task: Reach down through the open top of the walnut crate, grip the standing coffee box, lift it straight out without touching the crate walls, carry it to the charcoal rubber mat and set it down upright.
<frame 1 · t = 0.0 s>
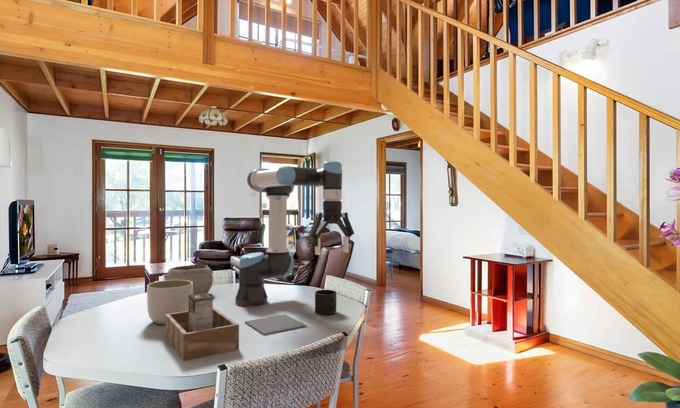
hand: (332, 253, 159), 28 cm above the table, fingers open, 13 cm apart
planter: (170, 321, 160), on the table
bowl: (189, 296, 203), on the table
coffee box: (200, 343, 136), resting in crate
mug: (327, 313, 173), on the table
crate: (200, 342, 136), on the table
mat: (275, 324, 157), on the table
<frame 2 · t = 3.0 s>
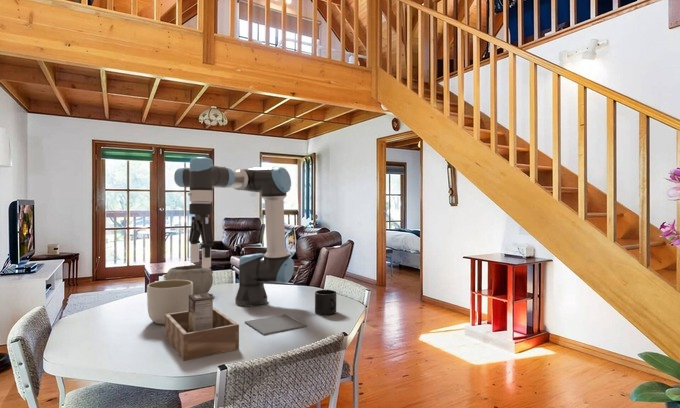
hand: (200, 264, 136), 27 cm above the table, fingers open, 13 cm apart
nothing on the table moved.
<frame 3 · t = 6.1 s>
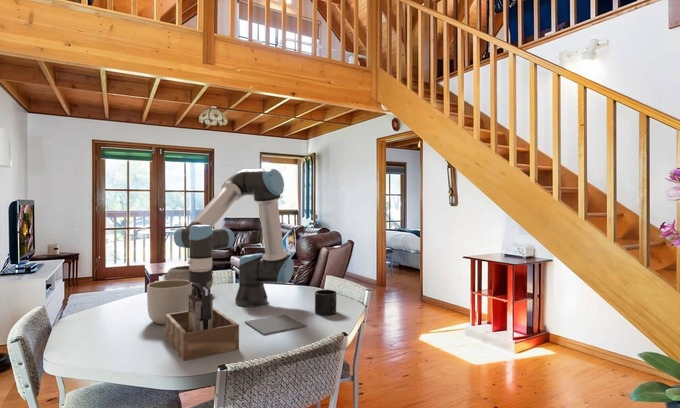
hand: (200, 335, 136), 3 cm above the table, fingers closed on coffee box, 9 cm apart
coffee box: (200, 343, 136), resting in crate, touching gripper
everything else where it was.
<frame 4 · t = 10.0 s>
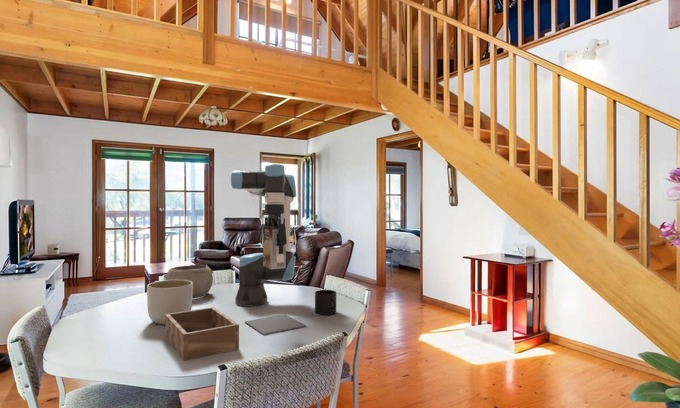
hand: (274, 260, 156), 25 cm above the table, fingers closed on coffee box, 9 cm apart
coffee box: (274, 267, 156), point 23 cm above the table, touching gripper
everything else where it was.
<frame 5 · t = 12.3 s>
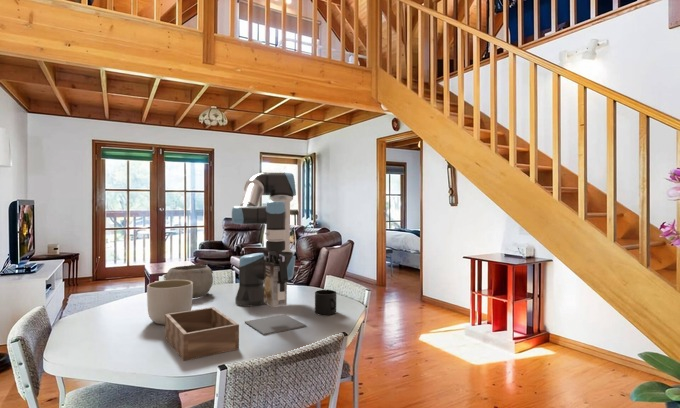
hand: (275, 297, 156), 11 cm above the table, fingers closed on coffee box, 9 cm apart
coffee box: (275, 304, 156), point 8 cm above the table, touching gripper
everything else where it was.
when the fingers open (4 cm above the table, at t = 14.4 s): coffee box drops 1 cm, resting on mat.
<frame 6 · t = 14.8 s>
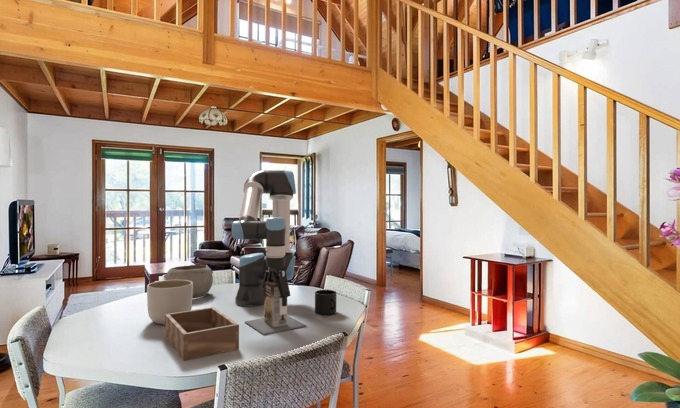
hand: (275, 310, 157), 6 cm above the table, fingers open, 13 cm apart
coffee box: (275, 323, 156), resting on mat
everything else where it was.
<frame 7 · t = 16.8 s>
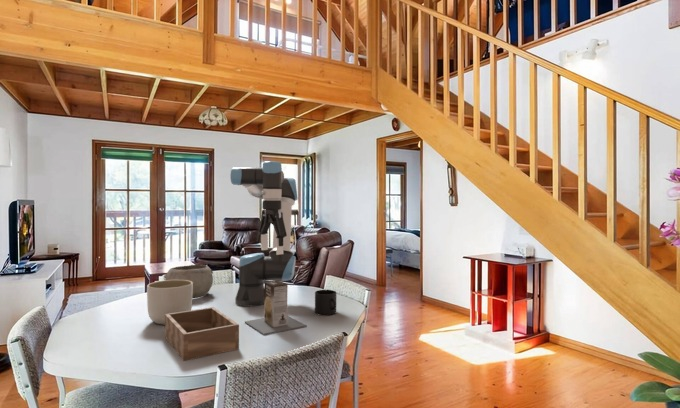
hand: (271, 252, 161), 28 cm above the table, fingers open, 13 cm apart
nothing on the table moved.
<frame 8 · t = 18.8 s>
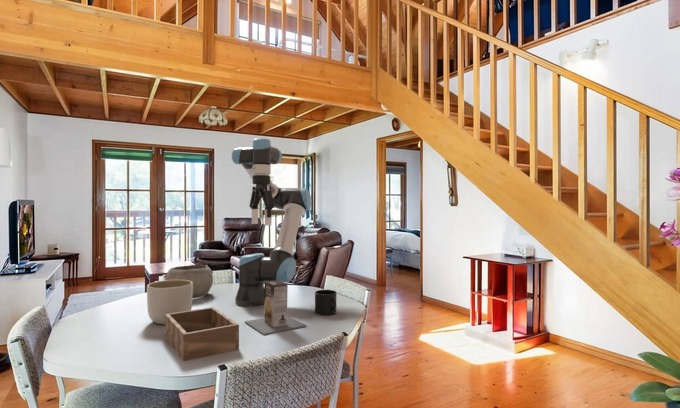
hand: (261, 224, 170), 39 cm above the table, fingers open, 13 cm apart
nothing on the table moved.
at the end: coffee box 0.3 cm from the mat (horizontally); coffee box tilted 0°; the gripper is holding nothing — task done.
